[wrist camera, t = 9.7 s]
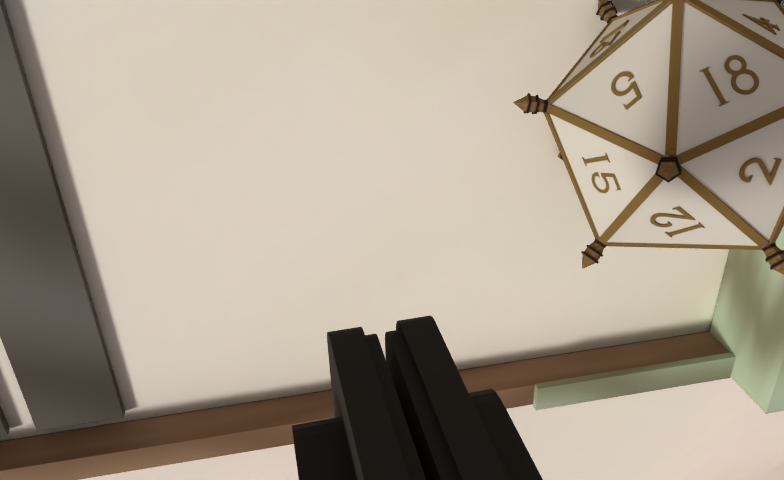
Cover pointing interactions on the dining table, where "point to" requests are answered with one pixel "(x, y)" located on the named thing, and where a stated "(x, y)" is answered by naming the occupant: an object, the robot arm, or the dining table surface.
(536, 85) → the dining table surface
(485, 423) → the robot arm
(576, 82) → the game die
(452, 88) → the dining table surface
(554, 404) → the shallow open box
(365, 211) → the dining table surface
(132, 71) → the dining table surface
